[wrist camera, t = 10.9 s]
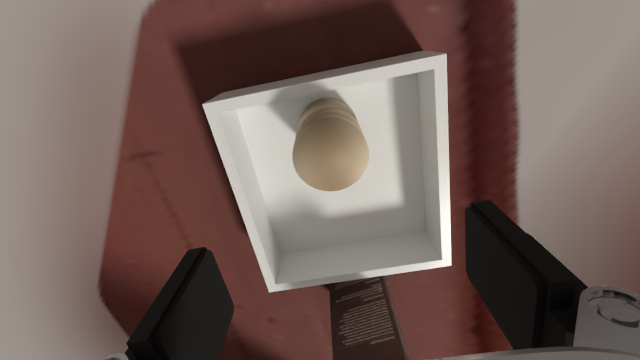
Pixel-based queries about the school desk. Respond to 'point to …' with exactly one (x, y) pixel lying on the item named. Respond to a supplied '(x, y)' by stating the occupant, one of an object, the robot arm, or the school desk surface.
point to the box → (365, 321)
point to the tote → (360, 198)
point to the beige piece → (329, 146)
